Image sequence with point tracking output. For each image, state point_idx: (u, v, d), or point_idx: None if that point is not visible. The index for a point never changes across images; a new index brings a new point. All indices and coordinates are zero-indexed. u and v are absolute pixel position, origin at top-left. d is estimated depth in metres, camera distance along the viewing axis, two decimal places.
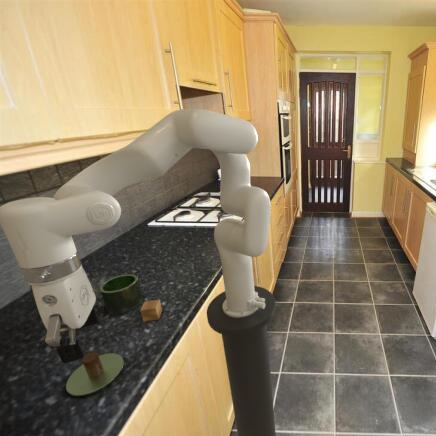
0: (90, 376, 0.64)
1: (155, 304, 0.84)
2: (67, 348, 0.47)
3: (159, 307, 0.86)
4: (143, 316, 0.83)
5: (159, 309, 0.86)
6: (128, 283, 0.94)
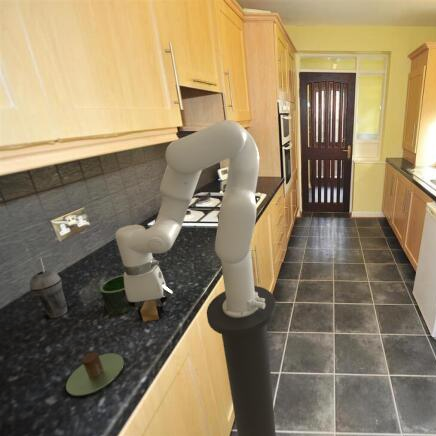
0: (90, 376, 0.64)
1: (155, 304, 0.84)
2: (163, 304, 0.86)
3: None
4: (143, 316, 0.83)
5: None
6: None
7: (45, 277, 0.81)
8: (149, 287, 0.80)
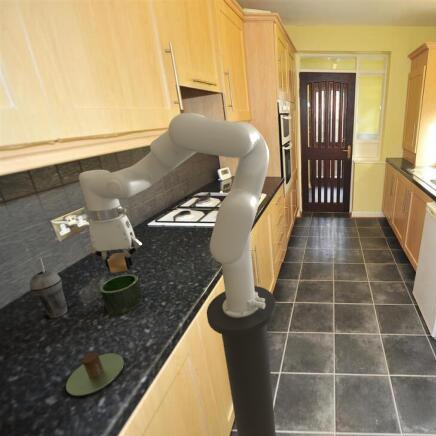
0: (90, 376, 0.64)
1: (124, 255, 0.83)
2: (131, 255, 0.84)
3: None
4: (110, 266, 0.81)
5: None
6: (128, 283, 0.94)
7: (45, 277, 0.81)
8: (116, 235, 0.78)
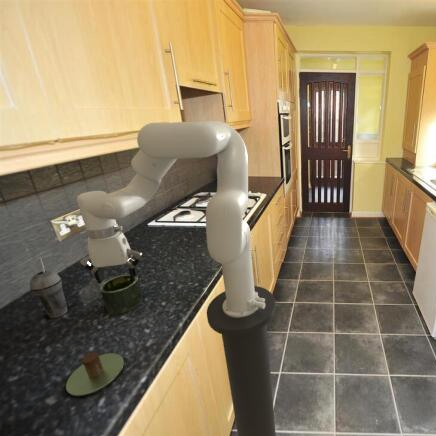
0: (90, 376, 0.64)
1: None
2: (135, 266, 0.88)
3: None
4: None
5: None
6: (128, 283, 0.94)
7: (45, 277, 0.81)
8: (113, 252, 0.82)
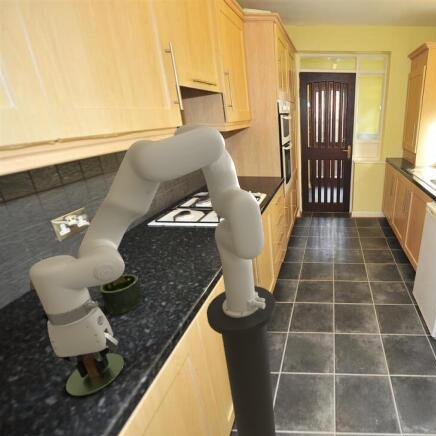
0: (90, 376, 0.64)
1: None
2: (104, 356, 0.65)
3: None
4: None
5: None
6: (128, 283, 0.94)
7: None
8: (84, 338, 0.59)
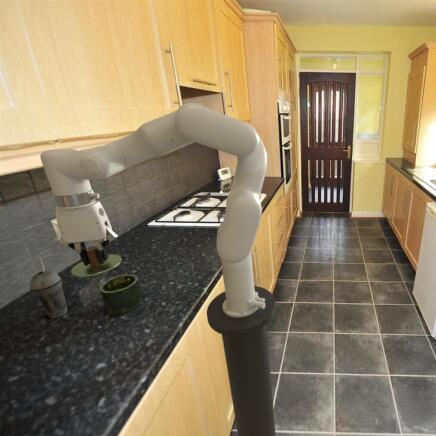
0: (92, 265, 0.73)
1: None
2: (105, 249, 0.74)
3: None
4: None
5: None
6: (128, 283, 0.94)
7: (45, 277, 0.81)
8: (87, 224, 0.69)
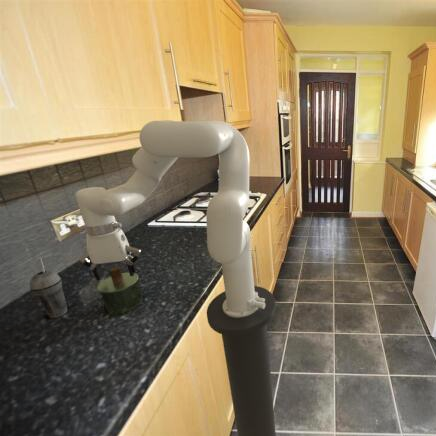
0: (114, 283, 0.87)
1: None
2: (134, 263, 0.88)
3: None
4: None
5: None
6: None
7: (45, 277, 0.81)
8: (112, 249, 0.82)
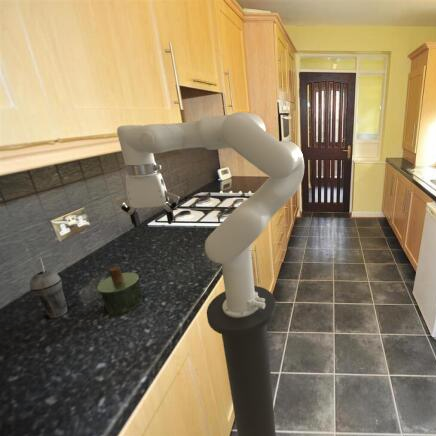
0: (114, 283, 0.87)
1: None
2: (172, 211, 0.84)
3: None
4: None
5: None
6: None
7: (45, 277, 0.81)
8: (151, 192, 0.79)
